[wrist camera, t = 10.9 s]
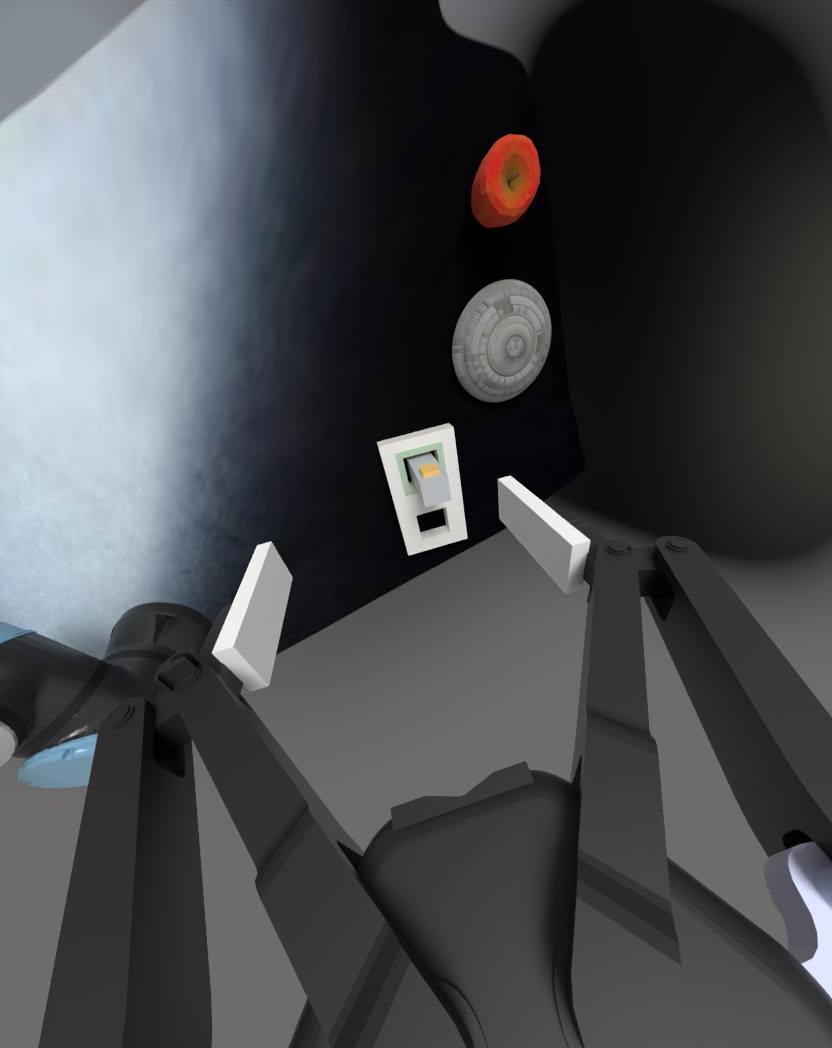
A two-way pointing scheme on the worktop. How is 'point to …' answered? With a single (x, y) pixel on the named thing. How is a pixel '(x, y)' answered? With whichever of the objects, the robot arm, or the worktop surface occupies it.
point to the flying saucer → (501, 340)
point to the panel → (407, 495)
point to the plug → (429, 479)
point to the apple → (505, 181)
